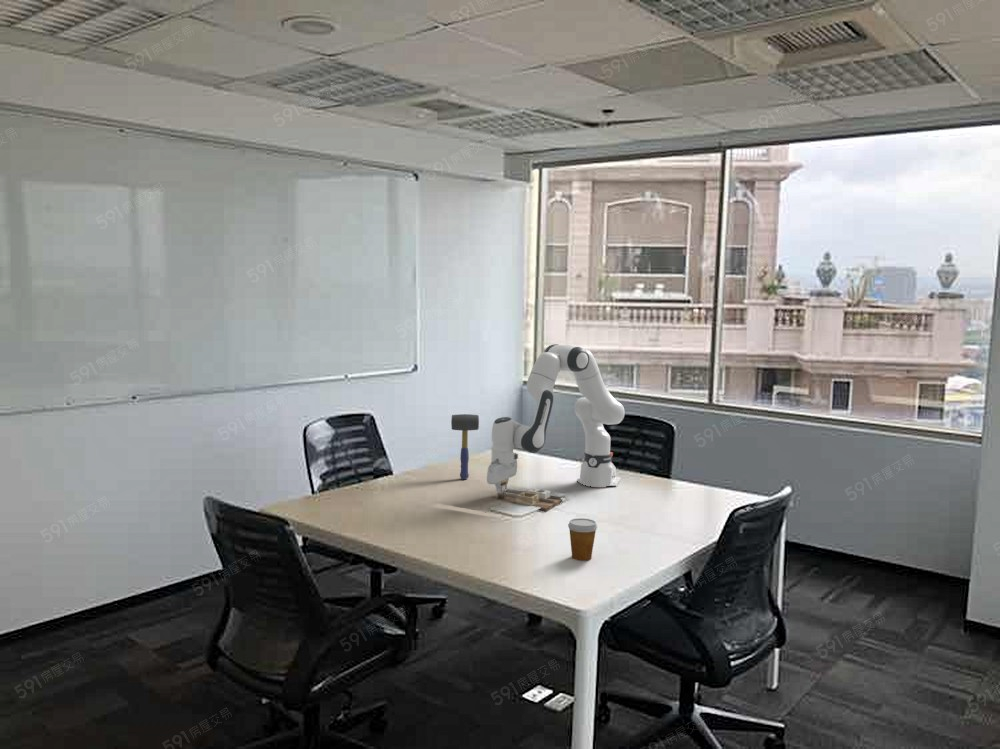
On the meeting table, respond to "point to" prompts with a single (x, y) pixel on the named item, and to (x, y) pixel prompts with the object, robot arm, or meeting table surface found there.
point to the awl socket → (527, 498)
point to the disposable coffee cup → (582, 538)
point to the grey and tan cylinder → (501, 494)
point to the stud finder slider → (543, 493)
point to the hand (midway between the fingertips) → (501, 490)
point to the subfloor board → (544, 503)
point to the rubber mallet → (465, 437)
